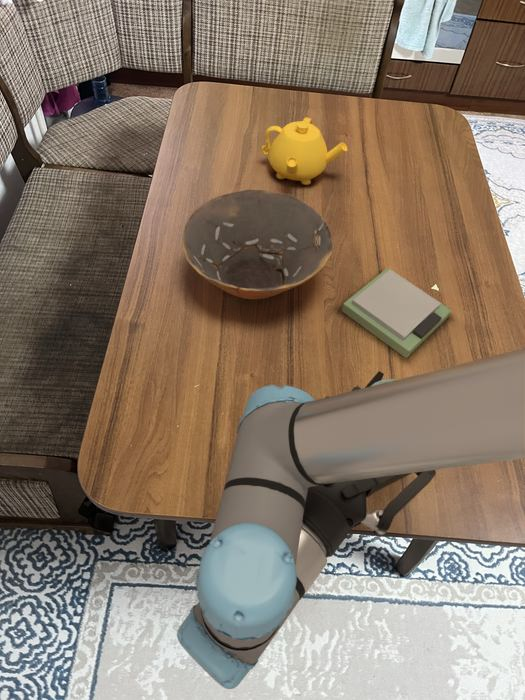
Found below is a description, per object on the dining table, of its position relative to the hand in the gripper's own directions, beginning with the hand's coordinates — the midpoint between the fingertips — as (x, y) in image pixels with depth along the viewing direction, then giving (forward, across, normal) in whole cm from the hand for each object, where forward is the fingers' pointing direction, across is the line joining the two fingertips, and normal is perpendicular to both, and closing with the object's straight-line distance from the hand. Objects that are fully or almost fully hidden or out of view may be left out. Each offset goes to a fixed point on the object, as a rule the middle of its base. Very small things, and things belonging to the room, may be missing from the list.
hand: (408, 397), depth 67 cm
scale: (+23, -12, -14) cm, 29 cm away
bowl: (+13, -36, -14) cm, 40 cm away
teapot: (+44, -48, -14) cm, 66 cm away
